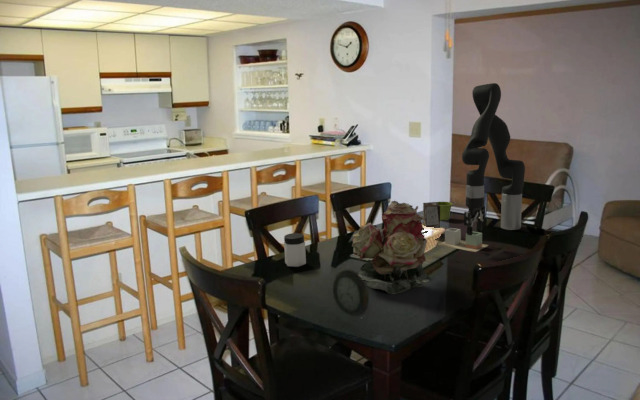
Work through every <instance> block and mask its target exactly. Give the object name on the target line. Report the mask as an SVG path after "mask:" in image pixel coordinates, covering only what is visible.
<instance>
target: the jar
mask: <svg viewBox="0 0 640 400" xmlns="http://www.w3.org/2000/svg"><path fill="white" fill-rule="evenodd" d="M283 239H284V242H283V245H284V246H283V248H284V264H286V266H287V267H292V268H293V267H294V268H299V267H303V266H304V265H307V258H306V257H307V254H306V253H307V252H306V242H305V235H304V234H303V233H301V232H300V233H299V232H294V233H287V234H284V237H283Z"/></svg>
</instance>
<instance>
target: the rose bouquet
mask: <svg viewBox="0 0 640 400" xmlns="http://www.w3.org/2000/svg"><path fill="white" fill-rule="evenodd" d="M418 209H419V206H418V205H416V207H415V208H414V207H413V205H411V204H409V203H406V202H402V203H400V202H399V201H397V200H392V201H391V202H390V204H388V205H387V208H386V211H384V212H383V214H381V215H382V216H381V219H382V222H383V224H384V226H383V229H381V228H379V227H376V226H375V225H373V224H372V223H371V222H368V223H367V224H364V225H361V226H360V227H359V229H358V232H356V233H355V234H353V235H352V237H353V238H352V240H351V241H352V244H351V247H353V252H352V253H353V254H354V255H355V256H357V257H358V260H359V261H362V260H363V259H364V260H365V259H368V261H367V262H366V263H363V265H362V266H360V270H359V272H358V274H357V276H358V277H359V278H360V280H363V281H366V282H368V283H367V284H366V286H367V287H369V288H371V289H377V290H382V291H385V292H386V293H387V294H389V295H396V294H402V293H404V292H407V291H409V290H411V289H415V288H420V287H421V288H422V287H423V288H424V285H420V284H421V283H422V282H424V283H428V282H429V281H430V279H429V277H428V274H427V273H426V272H425V271H424V268H423V265H424V263H425V262H426V261H427V259H426V256H425V250H426V246H427V244H428V240H427V238H426V237H425V235H424V233H427V232H428V231H425V232H423V230H424V228H423V222H422V221H423V219H424V220H425V219H426V218H424V216H423V215H420V214H418V213H417V212H418ZM421 281H422V282H421Z"/></svg>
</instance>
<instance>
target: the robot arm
mask: <svg viewBox="0 0 640 400" xmlns="http://www.w3.org/2000/svg"><path fill="white" fill-rule="evenodd" d="M471 94H472V100H473V103H474V105H475V107H476V110H477V111H478V114H479V116H478V118H477V119H476V121H475V122H474V124H473V126H472V128H471V133H470V139H469V140H468V142H467V144H466V145H465V147H464V150H462V151H463V152H462V155H461V160H462V162H463V164H465V166H467V165H468V166H469V165H470V166H478V168H477V169H472V170H468V171H467V172H466V186H465V206H466V207H467V208H468V211H464V212H463V226H464V227H466V233H467V235H472V234H473V231H474V230H473V229H474V227H473V225H474V223H476V230H477V231H482V230H483V222H484V220H486V206H485V172H486V169H487V166H488V165H487V164H488V162H489V159H490V152H489V151H488V149H487V148H484V147H485V146H486V145H487V143H488V141H489V142H490V143H489V144H490V145H491V148H492V151H493V154H494V157H495V158H494V159H495V163H496V167H497V171H498V174H499V176H500V177H501V178H503V179H508V180H511V183H510V184H509V185H504V186H502V188H501V202H500V203H501V209H500V213H501V214H500V228H501V229H502V230H507V231H515V230H516V231H517V230H520V229H521V228H522V208H523V206H522V205H523V190H524V185H525V174H526V173H525V172H526V166H525V163H524V162H523V160H516V159H510V158H508V155H507V149H508V148H509V144H510V142H511V134H510V130H509V128H508V125H507V123H506V122H505V121H504V120H503V119H502V118H501V117H500V116H498V115H497V114H496V113H497V110H498V107H499V104H500V103H501V98H502V89H501V87H500V85H499V84H498V83H494V82H493V83H486V84H481V85H480V84H479V85H476V86H475V87H473V89H472V93H471Z"/></svg>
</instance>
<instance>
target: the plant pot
mask: <svg viewBox="0 0 640 400" xmlns="http://www.w3.org/2000/svg"><path fill="white" fill-rule="evenodd" d="M436 202H437V203H438V204H439V205H440V222H441V221H449V220H450V213H451V208H452V205H453V202H450V201H436Z"/></svg>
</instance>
